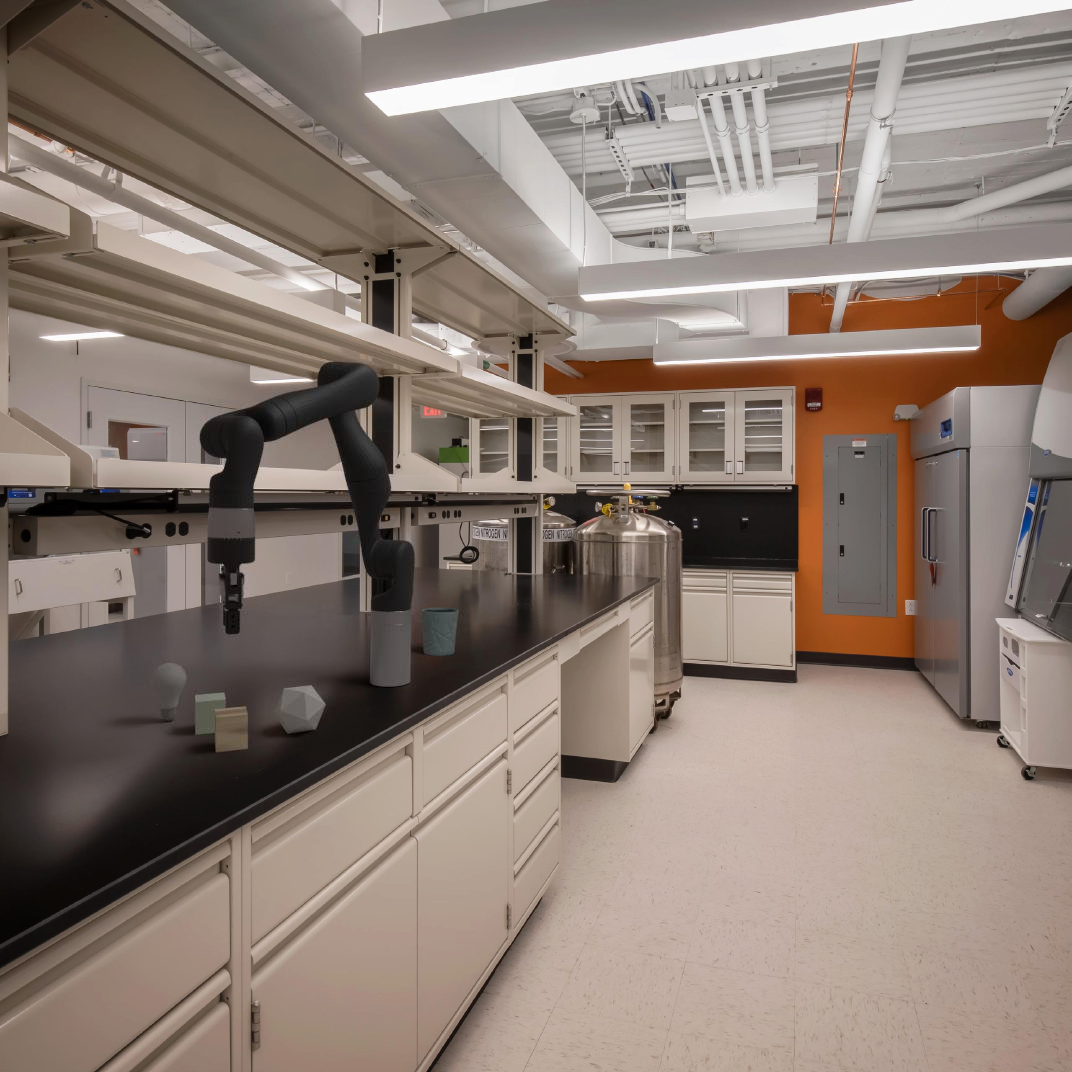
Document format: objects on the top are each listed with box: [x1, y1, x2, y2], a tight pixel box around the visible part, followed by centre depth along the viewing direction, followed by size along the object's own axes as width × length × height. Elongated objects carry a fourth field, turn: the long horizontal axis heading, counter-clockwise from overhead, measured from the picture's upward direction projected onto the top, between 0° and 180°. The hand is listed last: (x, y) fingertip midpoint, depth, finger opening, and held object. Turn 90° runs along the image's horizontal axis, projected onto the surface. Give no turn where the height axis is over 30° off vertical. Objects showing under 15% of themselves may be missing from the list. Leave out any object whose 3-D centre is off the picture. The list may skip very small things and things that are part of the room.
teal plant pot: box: [421, 607, 459, 657], centre depth 207 cm, size 10×10×12 cm
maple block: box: [214, 706, 249, 753], centre depth 127 cm, size 5×5×6 cm
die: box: [273, 684, 326, 734], centre depth 137 cm, size 8×9×10 cm
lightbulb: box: [149, 662, 187, 722], centre depth 140 cm, size 6×6×11 cm
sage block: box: [194, 692, 227, 736], centre depth 136 cm, size 5×5×6 cm
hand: (231, 629), depth 126 cm, fingers open, 8 cm apart
